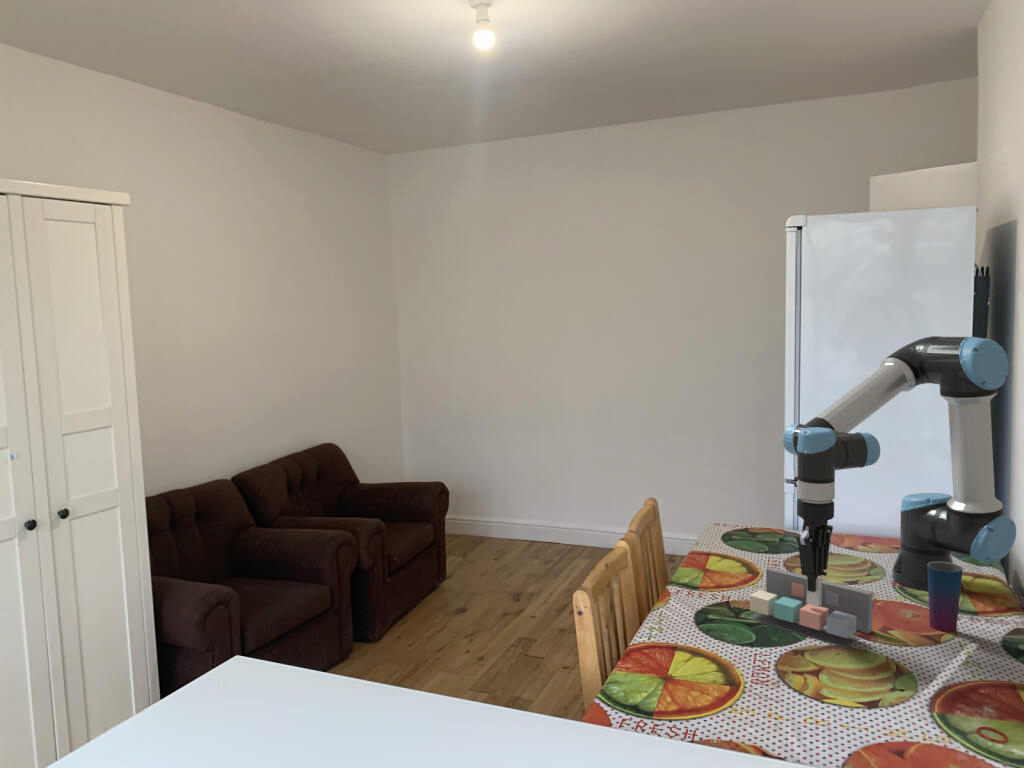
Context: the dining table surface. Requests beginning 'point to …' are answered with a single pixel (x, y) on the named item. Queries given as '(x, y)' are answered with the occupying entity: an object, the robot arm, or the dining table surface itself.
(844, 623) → the slate key
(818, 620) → the coral key
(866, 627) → the keypad
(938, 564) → the cup
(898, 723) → the dining table surface
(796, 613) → the teal key
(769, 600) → the sand key
